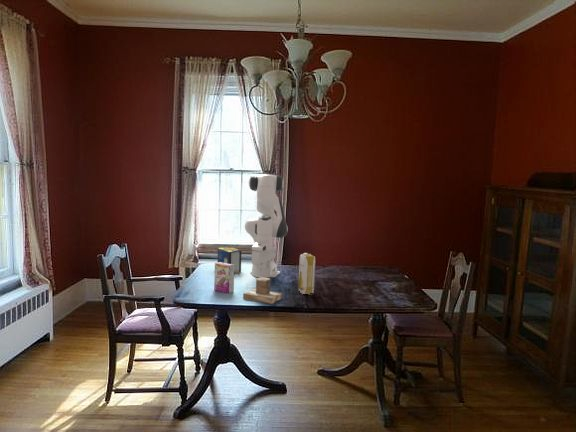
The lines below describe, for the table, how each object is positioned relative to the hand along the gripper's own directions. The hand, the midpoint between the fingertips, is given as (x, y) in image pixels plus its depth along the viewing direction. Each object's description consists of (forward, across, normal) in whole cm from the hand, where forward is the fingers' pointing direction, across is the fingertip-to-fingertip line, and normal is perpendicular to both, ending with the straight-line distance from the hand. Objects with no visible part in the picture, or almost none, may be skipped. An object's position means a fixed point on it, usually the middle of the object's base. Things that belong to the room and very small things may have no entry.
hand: (263, 269), depth 238 cm
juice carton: (+17, -23, +16) cm, 33 cm away
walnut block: (+13, 0, 0) cm, 13 cm away
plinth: (+16, +1, 0) cm, 16 cm away
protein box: (+18, -43, -52) cm, 70 cm away
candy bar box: (+17, +1, -26) cm, 31 cm away
